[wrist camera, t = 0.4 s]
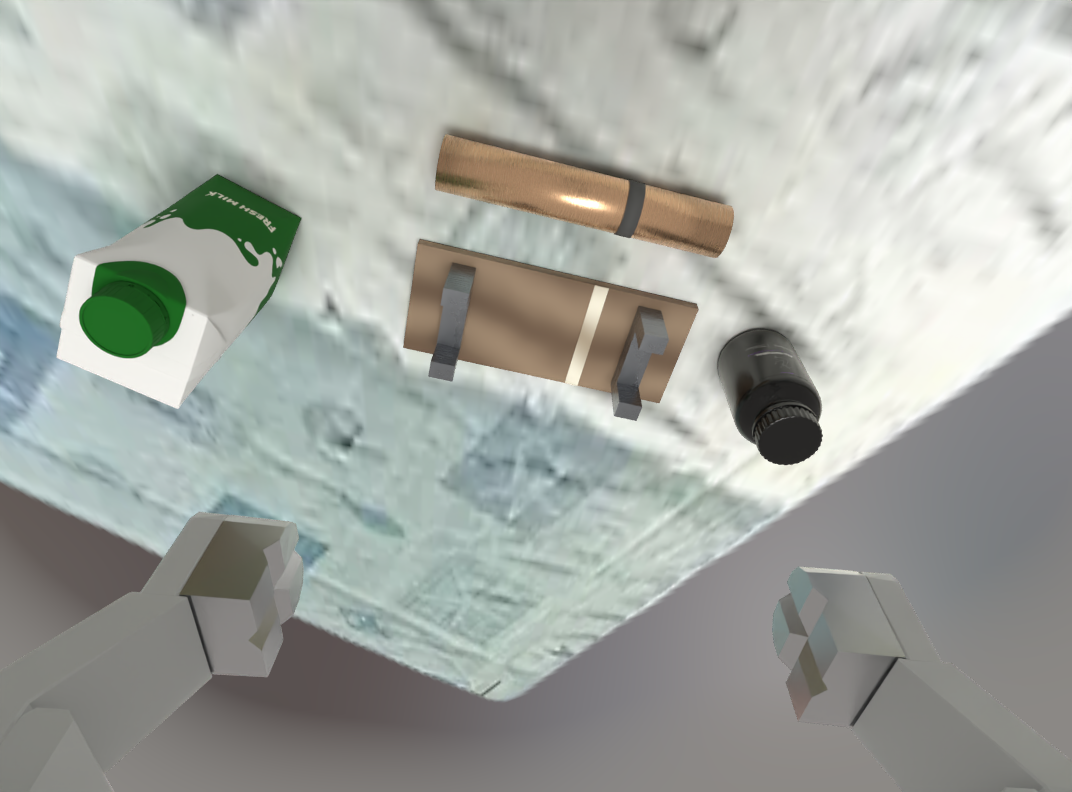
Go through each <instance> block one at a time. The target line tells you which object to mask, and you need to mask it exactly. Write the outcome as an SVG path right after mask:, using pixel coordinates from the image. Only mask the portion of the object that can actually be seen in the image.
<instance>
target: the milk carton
mask: <svg viewBox="0 0 1072 792" xmlns="http://www.w3.org/2000/svg"><path fill="white" fill-rule="evenodd" d="M300 221H301V218H300V217H298V216H296V215H294V214H292V213H290V212H288V211H287V210H285V209H283V208H281V207H279V206H277V205H275V204H273V203H271V202H269V201H267V200H265V199H264V198H262V197H260V196H258V195H256V194H254V193H252V192H250V191H248V190H246V189H244V188H242V187H241V186H239V185H237V184H235V183H233V182H231V181H229V180H227V179H225V178H223V177H221V176H220V175H218V174H217V175H216V176H214V177H213V178H211V179H210V180H208V181H207V182H205V183H204V184H202V185H201V186H199V187H198V188H196V189H195V190H194V191H192V192H191V193H189V194H188V195H186V196H185V197H183V198H182V199H181V200H179V201H178V202H176V203H175V204H173V205H172V206H170V207H169V208H167V209H166V210H164V211H163V212H161V213H160V214H158V215H156V216H155V217H153V218H152V219H150V220H149V221H147V222H146V223H144V224H143V225H141V226H140V227H138V228H136V229H135V230H133V231H132V232H130V233H129V234H127V235H126V236H124V237H123V238H121V239H119V240H118V241H116V242H115V243H113V244H112V245H110V246H106V247H103V248H99V249H96V250H92V251H88V252H85V253H81V254H78V255H76V256H75V257H74V261H73V266H72V271H71V275H70V280H69V285H68V290H67V295H66V300H65V305H64V310H63V312H62V315H61V320H60V327H61V328H62V331H61V336H60V341H59V346H58V352H57V358H59V359H61V360H63V361H66V362H68V363H70V364H73V365H75V366H77V367H80V368H82V369H85V370H87V371H89V372H92V373H94V374H96V375H99V376H101V377H103V378H106V379H108V380H111V381H113V382H115V383H118V384H120V385H122V386H125V387H127V388H129V389H132V390H134V391H136V392H139V393H141V394H144V395H146V396H148V397H151V398H153V399H155V400H158V401H160V402H162V403H165V404H167V405H170V406H172V407H174V408H177V409H178V408H179V407H180V406H181V404H182V403H183V402H184V400H185V399H186V398H187V397H188V395H189V394H190V393H191V392H192V390H193V389H194V388H195V387H196V386H197V384H198V383H199V382H200V381H201V379H202V378H203V377H204V376H205V375H206V373H207V372H208V371H209V370H210V368H211V367H212V366H213V365H214V364H215V363H216V362H217V361H218V360H219V359H220V358H221V355H222V354H223V353H224V352H225V351H226V350H227V349H228V348H229V346H230V345H231V344H232V343H233V342H234V341H235V340H236V338H237V337H238V336H239V335H240V334H241V332H242V331H243V330H244V329H245V328H246V326H247V325H248V324H249V323H250V322H251V321H252V319H253V318H254V317H255V316H256V315H257V313H258V312H259V311H260V310H261V309H262V307H263V306H264V305H265V304H266V303H267V301H268V300H269V299H270V297H271V296H272V294H273V292H274V289H275V287H276V284H277V282H278V279H279V276H280V274H281V271H282V269H283V266H284V263H285V261H286V258H287V255H288V253H289V250H290V247H291V244H292V242H293V239H294V236H295V234H296V231H297V228H298V226H299V223H300Z"/></svg>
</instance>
